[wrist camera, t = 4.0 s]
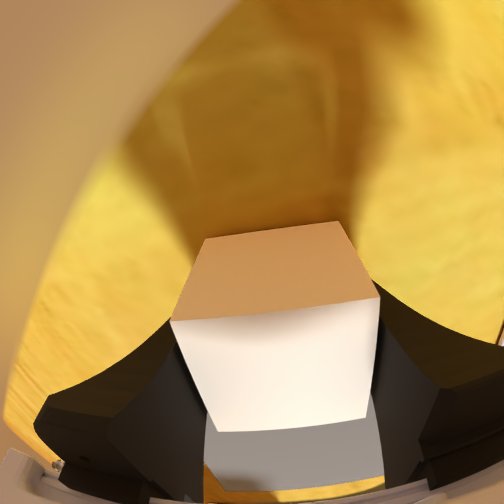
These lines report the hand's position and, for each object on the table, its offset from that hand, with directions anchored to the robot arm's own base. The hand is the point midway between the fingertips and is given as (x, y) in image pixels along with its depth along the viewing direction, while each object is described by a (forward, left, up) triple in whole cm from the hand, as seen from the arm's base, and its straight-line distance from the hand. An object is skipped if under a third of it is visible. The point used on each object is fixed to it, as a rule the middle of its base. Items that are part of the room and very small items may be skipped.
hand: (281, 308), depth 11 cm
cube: (0, 0, -1) cm, 1 cm away
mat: (-1, +14, -2) cm, 14 cm away
